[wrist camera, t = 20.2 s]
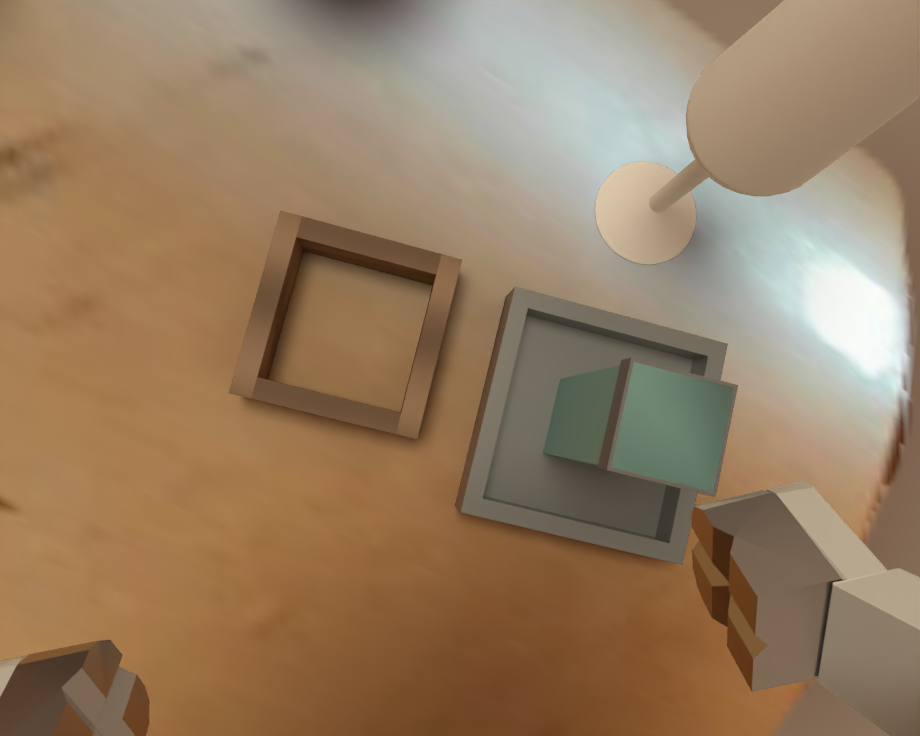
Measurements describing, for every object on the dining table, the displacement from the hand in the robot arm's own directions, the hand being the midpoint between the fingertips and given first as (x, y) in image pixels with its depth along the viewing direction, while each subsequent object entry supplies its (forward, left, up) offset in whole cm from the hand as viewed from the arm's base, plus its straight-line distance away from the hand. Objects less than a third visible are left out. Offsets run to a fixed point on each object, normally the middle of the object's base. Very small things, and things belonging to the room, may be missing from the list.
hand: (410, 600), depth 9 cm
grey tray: (+5, -11, -30) cm, 32 cm away
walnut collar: (+7, +4, -30) cm, 31 cm away
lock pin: (+5, -11, -29) cm, 31 cm away
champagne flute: (+19, -12, -30) cm, 38 cm away
